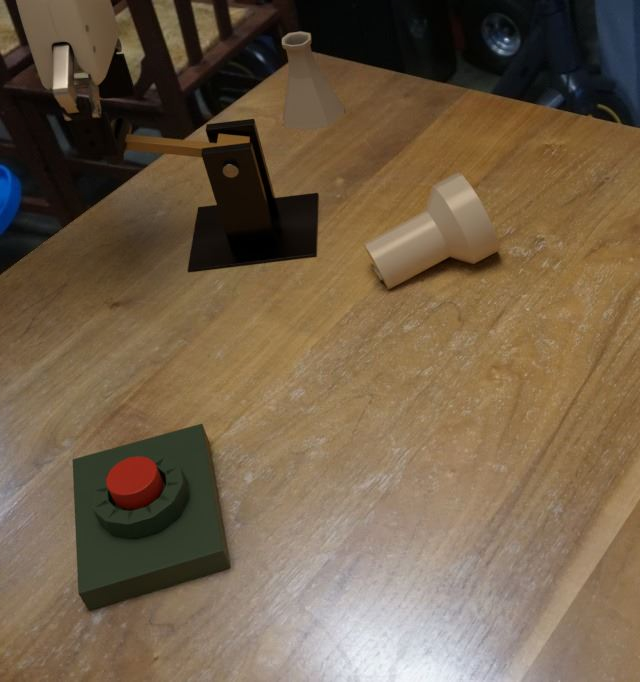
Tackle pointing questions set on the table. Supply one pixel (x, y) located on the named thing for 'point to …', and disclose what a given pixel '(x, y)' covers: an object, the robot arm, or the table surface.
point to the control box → (148, 521)
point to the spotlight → (435, 234)
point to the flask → (307, 88)
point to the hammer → (162, 143)
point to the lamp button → (134, 483)
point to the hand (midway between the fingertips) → (109, 124)
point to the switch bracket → (248, 208)
